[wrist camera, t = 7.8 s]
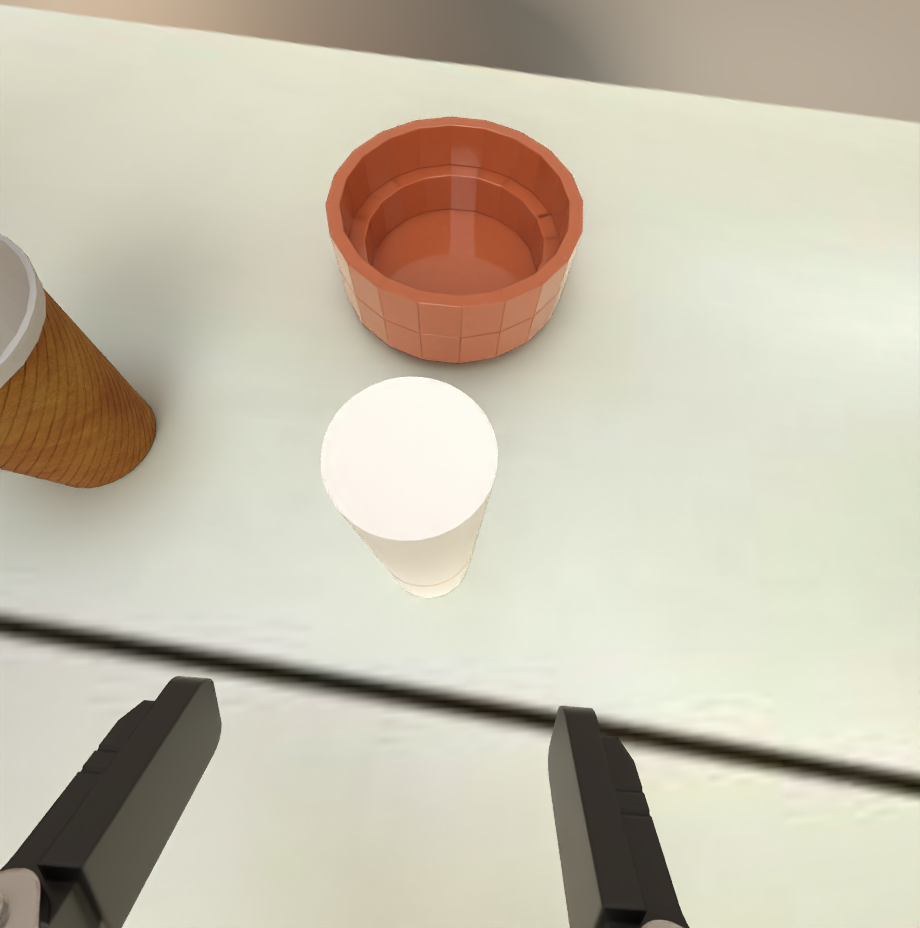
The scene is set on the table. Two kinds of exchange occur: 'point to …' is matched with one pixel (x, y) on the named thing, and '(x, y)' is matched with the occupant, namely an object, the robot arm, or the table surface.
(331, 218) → the bowl
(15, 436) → the disposable coffee cup
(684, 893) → the table surface
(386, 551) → the tube
